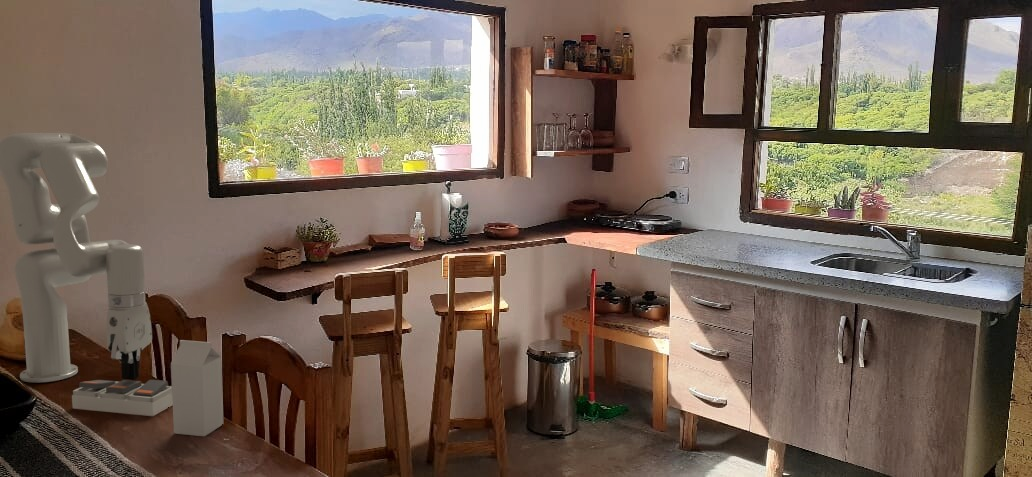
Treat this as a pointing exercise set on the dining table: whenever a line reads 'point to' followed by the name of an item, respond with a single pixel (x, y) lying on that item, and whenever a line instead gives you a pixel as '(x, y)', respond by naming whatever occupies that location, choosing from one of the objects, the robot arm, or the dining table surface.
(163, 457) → the dining table surface
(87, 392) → the rocker switch box
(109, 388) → the rocker
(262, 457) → the dining table surface
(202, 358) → the milk carton
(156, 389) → the rocker
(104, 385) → the rocker
